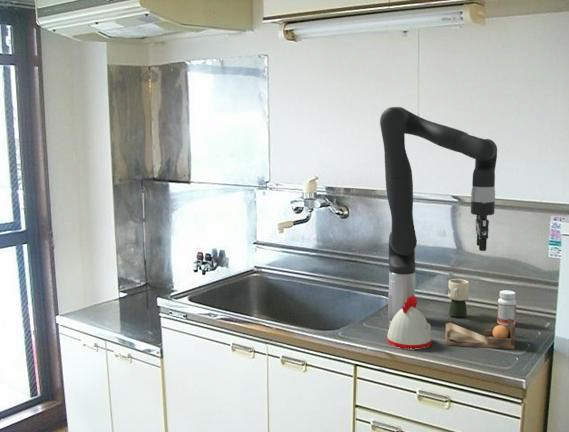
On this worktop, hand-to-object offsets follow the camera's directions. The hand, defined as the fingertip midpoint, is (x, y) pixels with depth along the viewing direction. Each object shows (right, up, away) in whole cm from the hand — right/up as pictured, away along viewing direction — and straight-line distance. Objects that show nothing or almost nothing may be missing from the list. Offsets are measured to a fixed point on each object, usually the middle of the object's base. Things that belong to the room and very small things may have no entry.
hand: (481, 248), depth 209 cm
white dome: (-26, -30, -8) cm, 40 cm away
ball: (+3, -26, -11) cm, 29 cm away
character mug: (-3, -26, +19) cm, 32 cm away
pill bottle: (+12, -27, +10) cm, 31 cm away
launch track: (-4, -32, -9) cm, 33 cm away
